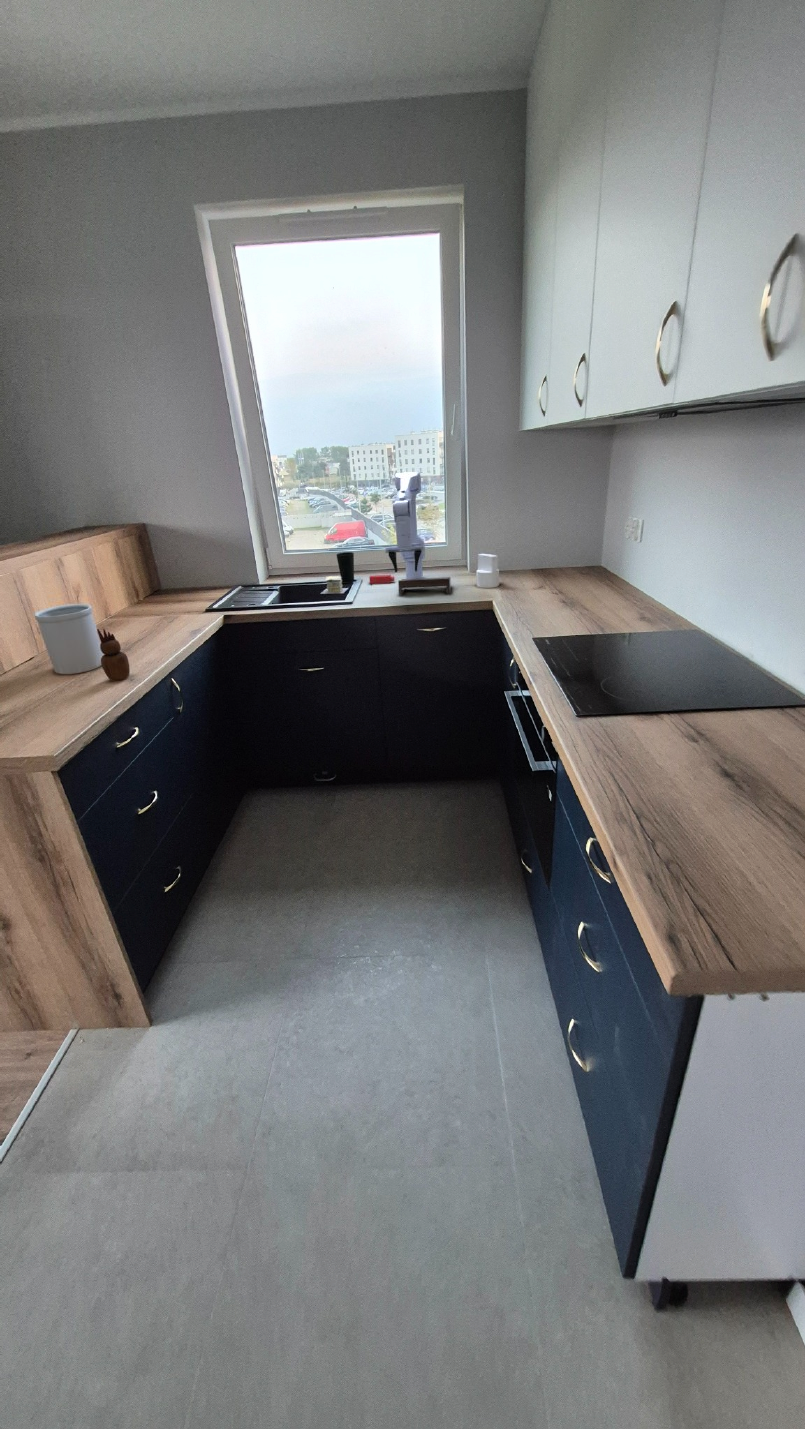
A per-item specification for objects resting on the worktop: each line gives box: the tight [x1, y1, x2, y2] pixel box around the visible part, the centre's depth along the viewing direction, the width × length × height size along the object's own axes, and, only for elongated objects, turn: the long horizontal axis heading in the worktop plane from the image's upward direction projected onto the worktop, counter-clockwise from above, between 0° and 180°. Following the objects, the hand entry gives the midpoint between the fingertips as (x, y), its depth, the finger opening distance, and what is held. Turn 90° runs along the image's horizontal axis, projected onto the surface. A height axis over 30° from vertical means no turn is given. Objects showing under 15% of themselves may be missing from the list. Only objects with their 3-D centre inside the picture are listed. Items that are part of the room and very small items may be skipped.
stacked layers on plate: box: [320, 575, 349, 595], centre depth 241 cm, size 10×9×6 cm
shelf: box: [397, 576, 452, 597], centre depth 230 cm, size 12×20×6 cm, turn 84°
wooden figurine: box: [96, 628, 131, 682], centre depth 158 cm, size 7×6×15 cm
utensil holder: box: [33, 603, 104, 675], centre depth 170 cm, size 15×15×18 cm
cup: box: [336, 551, 355, 583], centre depth 256 cm, size 8×8×12 cm
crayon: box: [368, 574, 395, 585], centre depth 250 cm, size 3×11×3 cm, turn 84°
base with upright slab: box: [476, 553, 500, 589], centre depth 231 cm, size 9×9×12 cm
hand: (406, 571), depth 221 cm, fingers open, 7 cm apart
